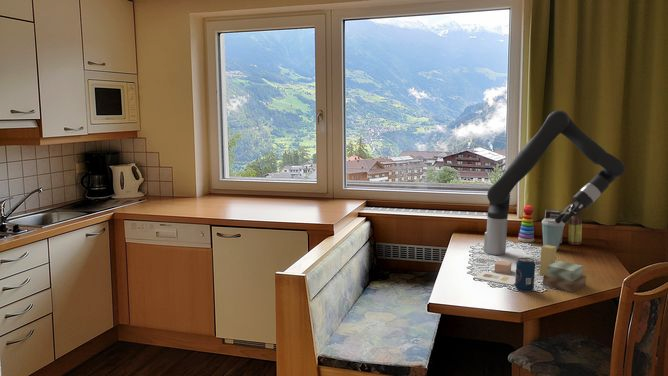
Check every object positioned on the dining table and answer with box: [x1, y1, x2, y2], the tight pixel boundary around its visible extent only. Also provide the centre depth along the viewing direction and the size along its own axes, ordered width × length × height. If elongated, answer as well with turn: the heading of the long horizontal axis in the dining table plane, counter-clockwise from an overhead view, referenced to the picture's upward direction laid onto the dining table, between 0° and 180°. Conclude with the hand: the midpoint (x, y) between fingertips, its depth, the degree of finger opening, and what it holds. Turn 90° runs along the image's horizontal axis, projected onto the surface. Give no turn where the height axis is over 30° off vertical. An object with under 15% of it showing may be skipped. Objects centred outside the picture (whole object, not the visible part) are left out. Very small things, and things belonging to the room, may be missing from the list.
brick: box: [493, 260, 512, 275], centre depth 246 cm, size 6×6×4 cm
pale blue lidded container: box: [544, 208, 564, 244], centre depth 297 cm, size 9×6×16 cm
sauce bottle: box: [567, 211, 583, 246], centre depth 292 cm, size 6×6×20 cm
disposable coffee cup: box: [541, 218, 566, 251], centre depth 282 cm, size 11×11×15 cm
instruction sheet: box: [473, 270, 516, 286], centre depth 237 cm, size 16×11×1 cm
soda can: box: [514, 256, 536, 293], centre depth 223 cm, size 7×7×12 cm
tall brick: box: [539, 245, 557, 276], centre depth 242 cm, size 4×4×12 cm
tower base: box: [542, 260, 587, 293], centre depth 229 cm, size 12×12×8 cm
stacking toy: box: [517, 204, 535, 243], centre depth 297 cm, size 8×8×19 cm
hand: (559, 222), depth 249 cm, fingers open, 8 cm apart
